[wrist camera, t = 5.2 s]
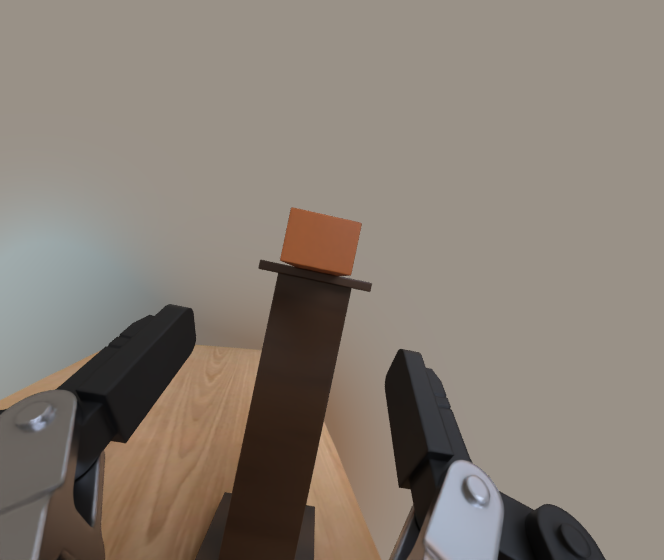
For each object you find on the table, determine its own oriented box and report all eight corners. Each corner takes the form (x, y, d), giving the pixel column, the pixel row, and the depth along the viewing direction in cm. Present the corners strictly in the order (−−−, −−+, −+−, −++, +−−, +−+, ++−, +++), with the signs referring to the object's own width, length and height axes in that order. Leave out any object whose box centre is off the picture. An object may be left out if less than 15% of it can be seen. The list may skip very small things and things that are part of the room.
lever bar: (303, 270, 33) (307, 248, 33) (332, 276, 34) (336, 255, 34) (279, 260, 13) (291, 206, 13) (351, 275, 14) (362, 222, 14)
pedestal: (222, 504, 32) (272, 263, 32) (312, 518, 33) (361, 282, 33) (164, 637, 20) (245, 256, 20) (308, 656, 21) (386, 286, 21)
